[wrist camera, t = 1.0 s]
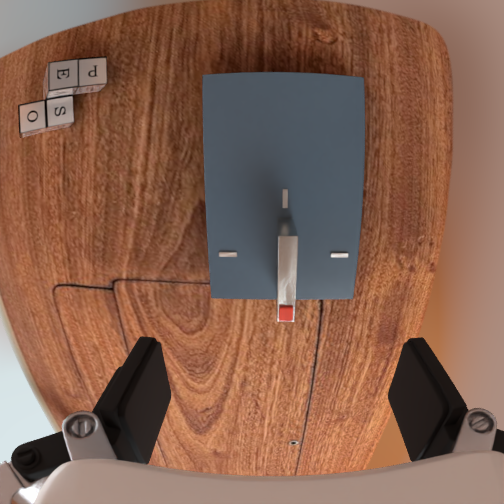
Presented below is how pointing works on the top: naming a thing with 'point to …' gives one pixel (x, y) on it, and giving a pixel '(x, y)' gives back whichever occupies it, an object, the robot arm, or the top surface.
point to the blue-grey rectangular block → (283, 180)
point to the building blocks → (61, 94)
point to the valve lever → (286, 269)
